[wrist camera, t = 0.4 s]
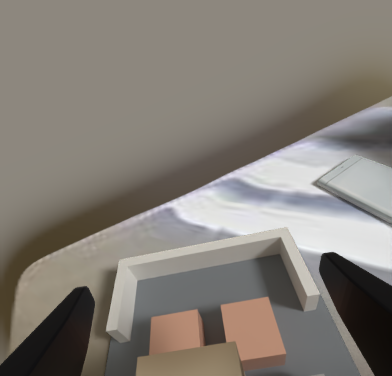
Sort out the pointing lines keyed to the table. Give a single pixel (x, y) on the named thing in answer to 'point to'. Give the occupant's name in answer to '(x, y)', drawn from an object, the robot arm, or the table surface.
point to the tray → (203, 258)
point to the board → (230, 293)
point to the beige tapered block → (194, 362)
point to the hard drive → (362, 185)
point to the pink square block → (176, 332)
